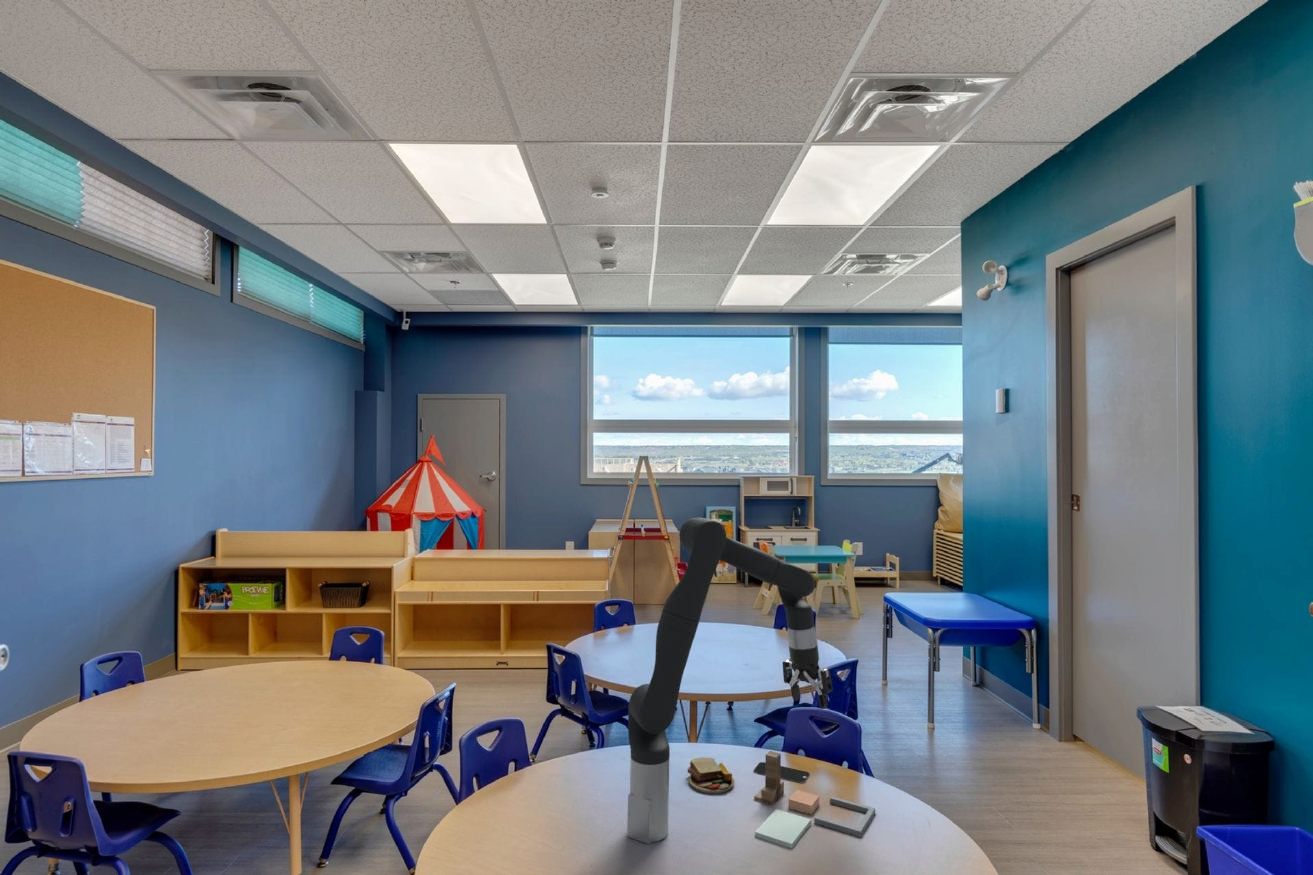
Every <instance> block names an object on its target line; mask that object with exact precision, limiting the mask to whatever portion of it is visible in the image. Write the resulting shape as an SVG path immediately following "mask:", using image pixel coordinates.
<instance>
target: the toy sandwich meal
mask: <svg viewBox="0 0 1313 875" xmlns="http://www.w3.org/2000/svg"><path fill="white" fill-rule="evenodd" d="M689 764H690V765H689V766H688V768H687V774H690V775H689V777H688V783H689V784H690V785H691V786H692V787H693V788H694V789H695V788H696V789H695V790H697V791H699V790H700V791H699V792H702V791H703V792H702V793H706V792H708V793H707V794H721V793H725V792H727V791H729V790H730V789H731V788H732V787H733V786H734V785H735V779H734V778H733V773H732V772H729V770H728V769H727V768H726V767H725V765H724V763H722V762H719V764H717V762H716V761H715V758H713V757H697V758H693V759H691V760H690V763H689Z"/></svg>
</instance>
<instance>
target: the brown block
mask: <svg viewBox="0 0 1313 875" xmlns="http://www.w3.org/2000/svg"><path fill="white" fill-rule="evenodd" d="M781 756H782V754H781V753H779V752H776V751H773V750H772V751H771V750H769V751H768V752H767V753H765V775H764V777H765V778H764V779H765V784H764V787H763V788H761V789H760V790H759V791H758V792H757V793H756V794H755V795H754V796H753V798H754V799H755V800H754V799H753V800H754V801H758V802H760V803H764V804H767V803H768V805H771V806H773V805H774V804H775V803H776V802H775V801H778V800H779V799H780V797H781V796H782V795H783V794H785V780H782V779H780V772H781V766H782V765H781V762H782V761H781V758H782V757H781Z"/></svg>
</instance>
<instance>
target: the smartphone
mask: <svg viewBox="0 0 1313 875" xmlns="http://www.w3.org/2000/svg"><path fill="white" fill-rule="evenodd" d="M765 763H766V761H765V762H763V761H761V762H759V763H758V764H757V765H756V766H755V768H754V769H753V774H756V773H757V775H761V776H765ZM810 776H811V773H810V772H808V771H806V770H805V771H804V770H801V769H796V768H791V767H788V766H782V765H781V772H780V780H782V781H787V782H788V781H789V782H793V783H796V784H806V783H807V781H808V779H809V778H810Z"/></svg>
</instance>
